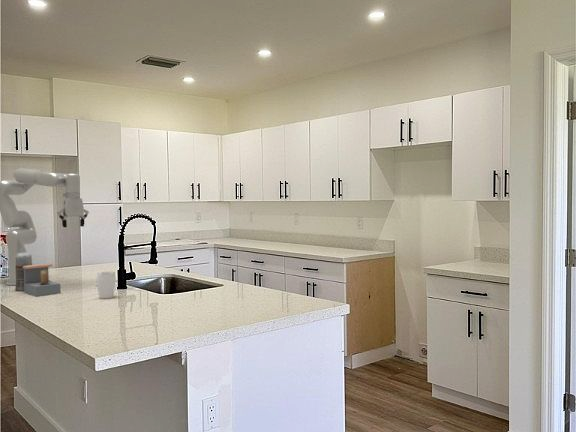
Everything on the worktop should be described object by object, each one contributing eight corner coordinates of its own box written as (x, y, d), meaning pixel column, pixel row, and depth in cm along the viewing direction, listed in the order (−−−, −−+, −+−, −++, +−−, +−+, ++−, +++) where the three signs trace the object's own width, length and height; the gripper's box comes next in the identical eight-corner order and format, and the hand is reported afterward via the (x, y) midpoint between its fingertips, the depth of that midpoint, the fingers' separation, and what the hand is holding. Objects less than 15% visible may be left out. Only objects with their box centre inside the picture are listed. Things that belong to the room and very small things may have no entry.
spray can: (36, 288, 280) (35, 252, 279) (27, 291, 272) (26, 253, 271) (21, 288, 281) (20, 251, 280) (12, 291, 273) (11, 253, 272)
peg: (42, 294, 262) (42, 271, 262) (39, 293, 265) (39, 270, 264) (49, 293, 265) (49, 270, 265) (47, 292, 267) (46, 269, 267)
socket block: (23, 292, 268) (22, 266, 267) (48, 289, 277) (48, 263, 277) (35, 296, 257) (34, 268, 256) (61, 293, 266) (60, 266, 266)
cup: (92, 298, 253) (92, 273, 253) (106, 294, 261) (106, 271, 261) (105, 299, 249) (105, 275, 249) (119, 296, 257) (119, 272, 257)
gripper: (60, 196, 275) (60, 227, 276) (91, 195, 288) (91, 226, 289) (54, 196, 280) (54, 227, 281) (84, 195, 293) (85, 225, 294)
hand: (73, 226), depth 285 cm, fingers open, 9 cm apart
